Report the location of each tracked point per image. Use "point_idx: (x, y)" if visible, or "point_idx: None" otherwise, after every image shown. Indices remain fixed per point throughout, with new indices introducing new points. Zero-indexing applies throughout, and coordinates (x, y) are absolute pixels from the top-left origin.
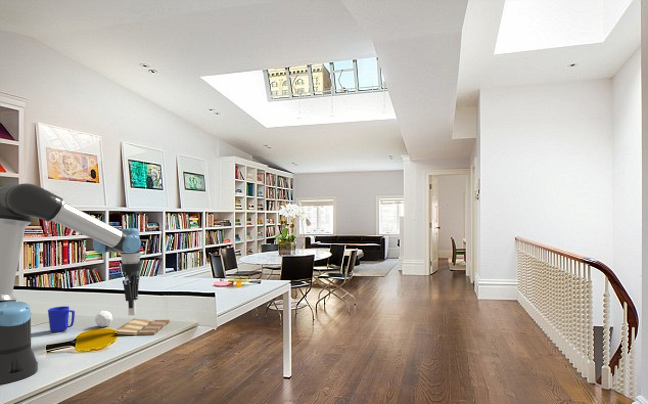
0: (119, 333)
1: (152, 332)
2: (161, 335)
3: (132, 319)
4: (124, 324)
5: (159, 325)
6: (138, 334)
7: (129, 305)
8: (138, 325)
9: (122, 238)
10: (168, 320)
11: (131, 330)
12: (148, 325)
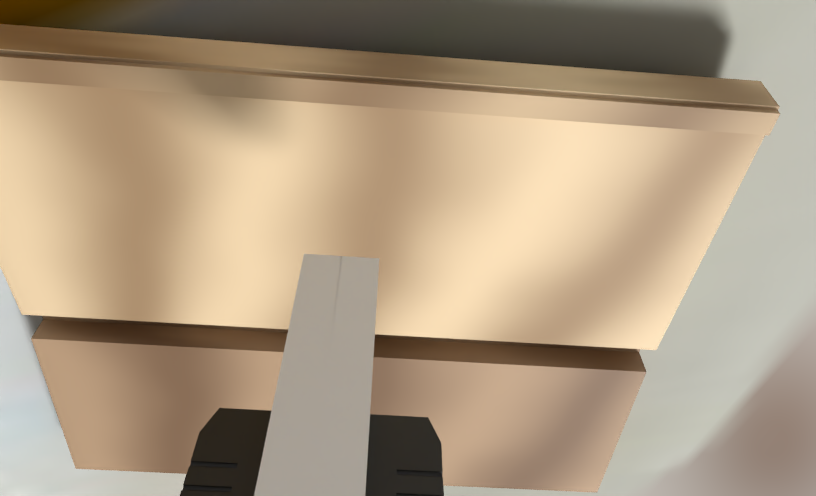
0: None
1: (72, 451)
2: (73, 492)
3: (688, 108)
4: (322, 82)
5: None
6: (43, 321)
7: (188, 493)
8: None
9: None
10: (550, 489)
11: (72, 255)
12: None
